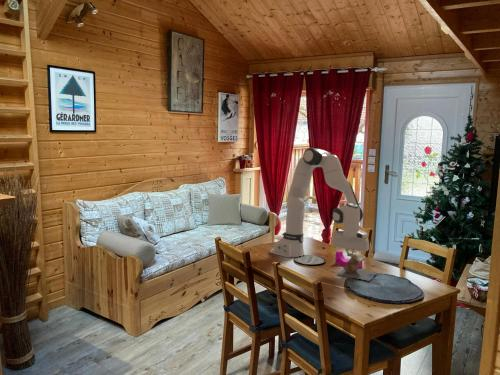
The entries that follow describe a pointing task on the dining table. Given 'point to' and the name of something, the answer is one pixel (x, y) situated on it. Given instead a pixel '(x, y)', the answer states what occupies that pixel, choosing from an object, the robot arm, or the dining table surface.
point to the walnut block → (354, 262)
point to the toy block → (343, 259)
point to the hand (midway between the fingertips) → (350, 256)
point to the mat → (357, 274)
